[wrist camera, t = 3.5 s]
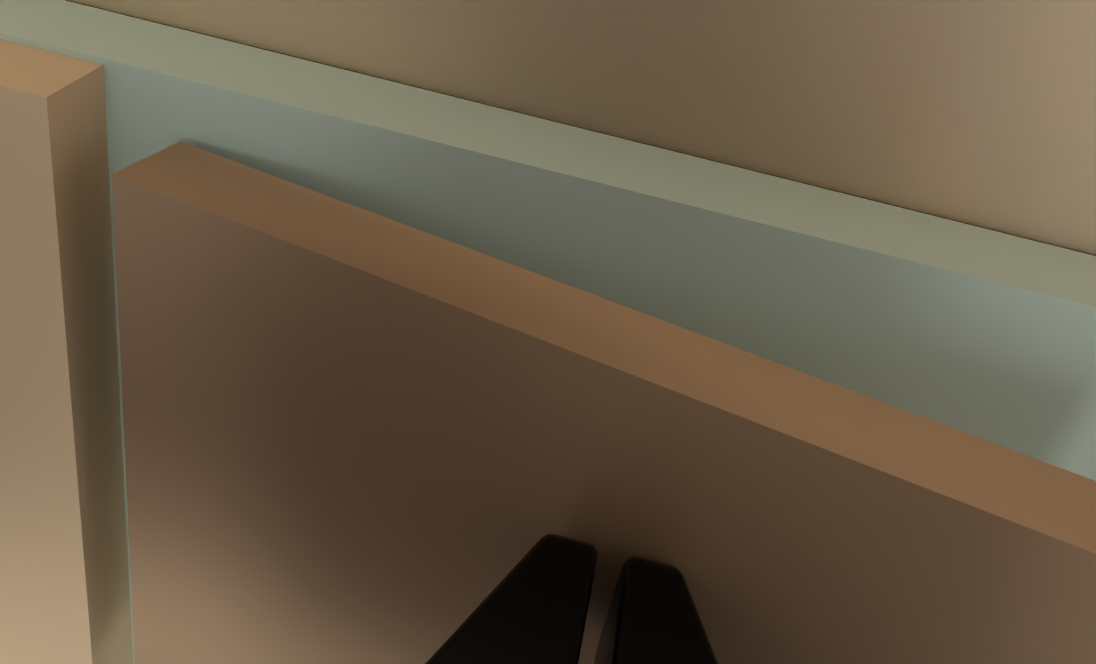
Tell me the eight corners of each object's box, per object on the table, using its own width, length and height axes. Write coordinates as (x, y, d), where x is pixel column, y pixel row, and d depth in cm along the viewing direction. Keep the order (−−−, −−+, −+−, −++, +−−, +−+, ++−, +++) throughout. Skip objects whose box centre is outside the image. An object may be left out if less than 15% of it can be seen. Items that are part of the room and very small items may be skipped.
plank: (876, 969, 10) (866, 1052, 9) (183, 628, 12) (135, 678, 11) (1204, 522, 7) (1223, 603, 6) (181, 141, 9) (111, 173, 8)
